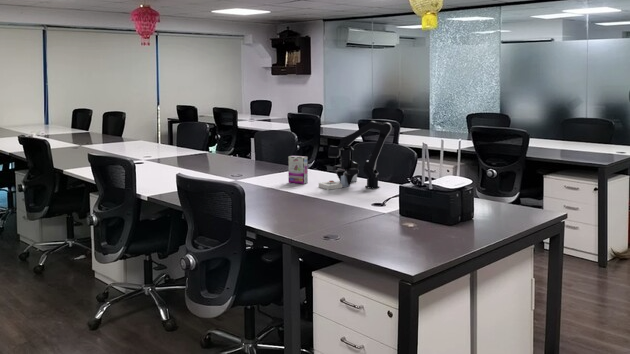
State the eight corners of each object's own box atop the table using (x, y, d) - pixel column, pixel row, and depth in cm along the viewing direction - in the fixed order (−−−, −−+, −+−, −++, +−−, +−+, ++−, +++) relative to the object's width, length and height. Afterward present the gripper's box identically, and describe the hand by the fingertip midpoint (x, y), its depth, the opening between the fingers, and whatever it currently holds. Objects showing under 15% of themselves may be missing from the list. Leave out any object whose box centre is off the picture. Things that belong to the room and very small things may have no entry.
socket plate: (342, 187, 342) (342, 182, 342) (327, 189, 337) (328, 184, 337) (332, 185, 351) (332, 180, 350) (318, 186, 346) (318, 181, 345)
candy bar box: (308, 183, 357) (308, 156, 354) (304, 184, 353) (304, 157, 350) (292, 181, 362) (292, 155, 359) (288, 182, 358) (287, 156, 355)
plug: (350, 186, 348) (350, 173, 346) (344, 186, 346) (344, 173, 344) (346, 185, 351) (346, 172, 350) (340, 185, 349) (340, 172, 348)
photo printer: (356, 180, 367) (356, 160, 365) (357, 181, 363) (357, 161, 361) (339, 180, 366) (340, 161, 363) (341, 182, 361) (341, 162, 359)
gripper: (366, 158, 342) (365, 185, 345) (347, 155, 357) (347, 180, 360) (350, 160, 336) (350, 187, 339) (332, 156, 352) (332, 181, 354)
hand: (345, 183), depth 348 cm, fingers open, 7 cm apart
